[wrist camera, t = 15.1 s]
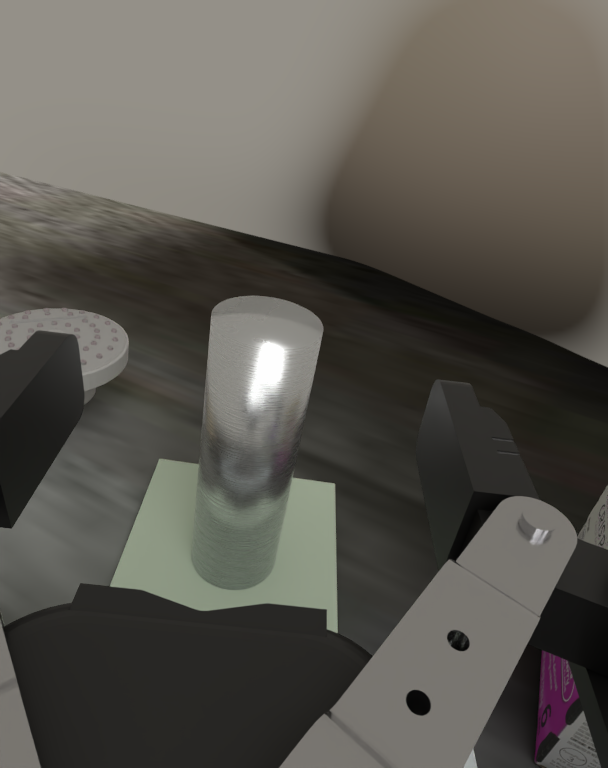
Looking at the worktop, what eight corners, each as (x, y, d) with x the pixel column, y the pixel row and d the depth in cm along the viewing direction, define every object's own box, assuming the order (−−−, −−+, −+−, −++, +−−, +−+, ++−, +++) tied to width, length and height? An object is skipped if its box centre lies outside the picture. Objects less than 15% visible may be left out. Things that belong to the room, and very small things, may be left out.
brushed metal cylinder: (278, 528, 34) (323, 306, 26) (272, 595, 30) (322, 356, 22) (200, 517, 34) (221, 288, 26) (182, 583, 30) (201, 336, 22)
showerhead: (-26, 379, 30) (-33, 300, 38) (-8, 477, 34) (-17, 388, 41) (146, 359, 35) (111, 291, 42) (146, 447, 39) (114, 372, 46)
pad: (333, 489, 38) (334, 483, 38) (336, 653, 28) (337, 647, 28) (159, 464, 38) (159, 458, 37) (97, 623, 28) (97, 617, 27)
